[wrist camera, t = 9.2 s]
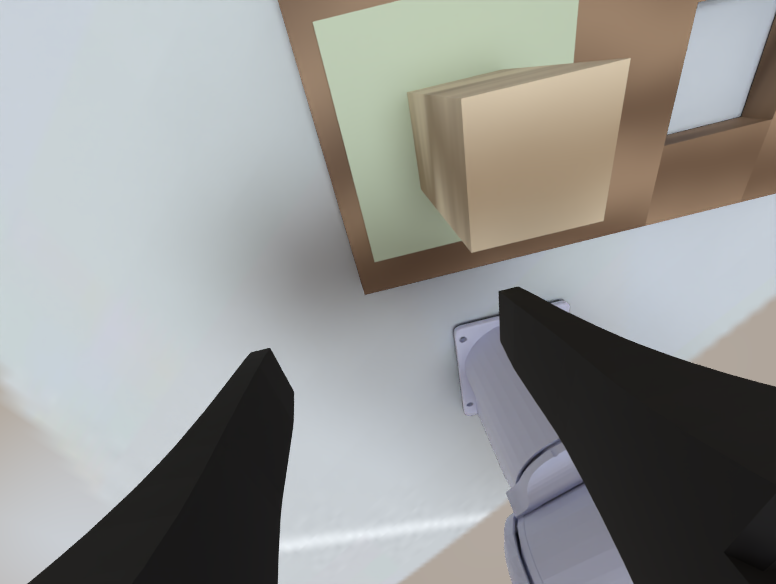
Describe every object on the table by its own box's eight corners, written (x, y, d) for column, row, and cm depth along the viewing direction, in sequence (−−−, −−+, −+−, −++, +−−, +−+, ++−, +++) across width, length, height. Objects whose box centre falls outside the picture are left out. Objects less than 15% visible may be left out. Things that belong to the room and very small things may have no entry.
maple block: (503, 169, 16) (603, 221, 10) (421, 189, 16) (471, 252, 10) (502, 69, 13) (630, 57, 8) (406, 92, 13) (461, 98, 8)
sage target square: (557, 214, 18) (560, 216, 17) (374, 259, 18) (374, 262, 17) (577, -43, 12) (582, -46, 12) (313, 22, 12) (312, 21, 12)
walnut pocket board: (783, 177, 20) (813, 184, 19) (363, 281, 20) (364, 294, 19) (950, -200, 12) (1020, -232, 11) (272, -32, 12) (264, -45, 11)
